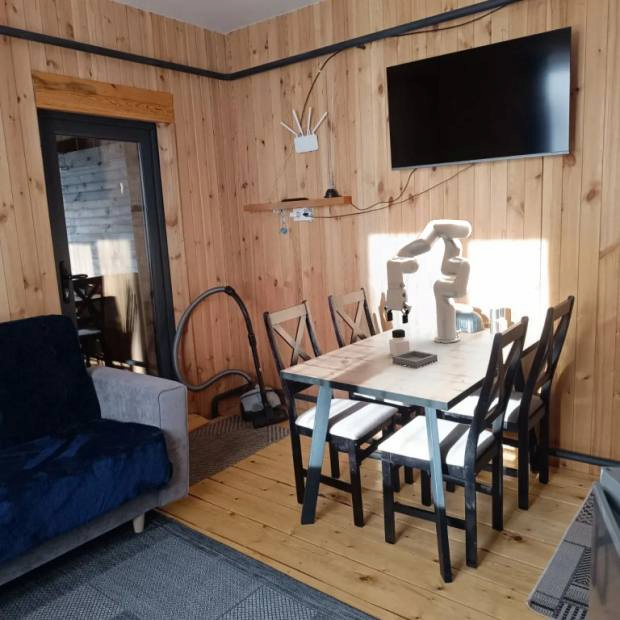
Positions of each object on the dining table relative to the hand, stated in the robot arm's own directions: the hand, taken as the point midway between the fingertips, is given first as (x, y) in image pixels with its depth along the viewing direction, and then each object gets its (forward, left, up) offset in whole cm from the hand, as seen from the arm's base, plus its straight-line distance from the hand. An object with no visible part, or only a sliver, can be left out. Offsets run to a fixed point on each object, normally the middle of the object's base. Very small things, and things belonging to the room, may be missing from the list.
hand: (397, 322), depth 274 cm
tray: (+6, +15, -16) cm, 23 cm away
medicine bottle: (0, 0, -16) cm, 16 cm away
